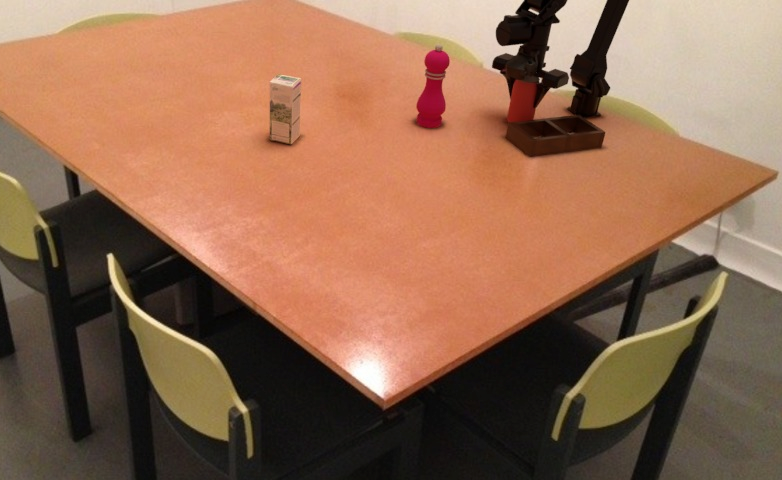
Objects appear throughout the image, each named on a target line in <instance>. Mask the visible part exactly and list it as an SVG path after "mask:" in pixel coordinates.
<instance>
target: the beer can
mask: <svg viewBox="0 0 782 480" xmlns="http://www.w3.org/2000/svg"><path fill="white" fill-rule="evenodd" d="M540 82H541V78H539V77H536V76H532V77H529V76H525V78H524V79H523V80H517V79H516V80H515V82H514V84H513V89H512V94H511V100H510V99H509V100H510V101H509V106H508V111H507V116H506V121H507V123H508V122H517V121H526V120H535V114H536V111H537V107H536V108H533V106H534V100H535V96H536V92H537V87H536V84H538V83H540Z"/></svg>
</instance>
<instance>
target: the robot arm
mask: <svg viewBox="0 0 782 480" xmlns="http://www.w3.org/2000/svg"><path fill="white" fill-rule="evenodd" d="M567 2H568V0H523V1H522V3H521V4H520V5H519V6H518V7H517V9H516V10H515V13H514V15H511V14H504V16H503V20H501V21H500V22H499V23H498V25H497V27H496V28H495V39H496V42H497V44H498V45H499V46H501V47H508V46H518V45H519V47H518V50H517V53H516V54H514V55H513V54H510V53H507V52H505V53H503V54H499V55H496V56H495V57H494V58H493V59H492V63H491V68H492V69H494V70H497V71H499V74H500V75H502V76H503V77H504V78H505V80H506V83H507V88H508V94H509V100H511V94H512V89H513V84H514V82H515V80H516V79H517V80H523V79H524V78H525V76H529V77H532V76H536V77H539V79H540V81H539V82H540V83H538V84H536V87H537V92H536V96H535V100H534V106H533V108H536V109H537V108H538V106H539V105H540V103H541V102H542V100H543V99H544V98H545V96H546V95H547V93H548V92H549V91H550V90H551V89H554V90H555V89H559V88H562V87H564V86H566V85H568V84H569V80H570V78H571V86H572V87H574V88H576V89H575V92H574V95H573V96H572V99H571V104H570V106H567V107H566V109H567V111H569V112H570V113H572V114H573V115H580V116H582V117H583V118H585V119H586V118H596V117H597V118H598V117H601V116H602V115H601V113H600V112H599V107H600V103H601V101H602V98H603V97H604V96H605V97H606V96H608V94H609V92H610V90H611V86H610V85H609V83H608V81H607V80H606V74H607V71H608V59H607V55H608V52H609V51H610V47H611V45H612V43H613V40H614V38H615V36H616V33H617V30H618V28H619V26H620V24H621V21H622V19H623V16H624V14H625V12H626V9H627V7H628V4H629V2H630V0H606V2H605V4H604V7H603V9H602V12H601V14H600V17H599V19H598V22H597V24H596V26H595V29H594V32H593V34H592V36H591V39H590V42H589V44H588V46H587V48H586V50H584V51H583V52H582V53H581V54H579V53H576V55H575V56H574V57H573V62H572V65H571V66H570V67H569V69H570V71H569V74H568V72H567V71H565V70H564V71H563V70H561V69H557V68H554V69H551V70H549V71H548V70H544V68H546V65H547V62H545V59H546V54H547V52H549V51H550V45H548V44H549V40H550V39H549V38H550V34H551V29H552V25H555V24H560V23H561V20H560V19H559V18H558V16H557V15H556V14H557V13H558V12H559V11H560V10H562V8H564V7H565V6H566V5H567ZM535 12H536V13H535ZM537 13H538V14H537Z"/></svg>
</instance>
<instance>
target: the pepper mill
mask: <svg viewBox="0 0 782 480" xmlns="http://www.w3.org/2000/svg"><path fill="white" fill-rule="evenodd" d="M450 60H451V59H450V56H449V54H448V53H447V52H446V51H444V50H443V45H442V44H441V43H437V44H435V47H434V49H432V50H430V51H429V52H427V53H426V55H425V57H424V66H425V68H426V69H425V70H424V72H425V73H424V76H425V77H426V80H425V81H426V82H425V86H424V88H423V90H422V92H421V94H420V95H419V97H418V98H417V101H416V110H417V112H418V113H417V115H416V124H418V125H419V126H420V127H422V128H427V129H435V128H439V127H440V126H441V125H442V122H443V117H442V115H443V114H444V113H445V112H446V108H447V107H446V106H447V105H446V99H445V98H446V97H445V96H444V92H443V81H444V79H445V78H446V76H447V75H446V74H447V71H446V70H447V69H448V68H449V66H450V63H451V61H450Z"/></svg>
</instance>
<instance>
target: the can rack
mask: <svg viewBox="0 0 782 480" xmlns="http://www.w3.org/2000/svg"><path fill="white" fill-rule="evenodd" d="M606 133H607V132H606V131H605V130H603V129H601V128H600V127H598V126H597V125H596V124H594V123H593V122H591V121H590V120H588V119H586V118H583V117H582V116H580V115H575V114H572V115H563V116H554V117H553V116H552V117H546V118H545V117H544V118H537V119H535V118H534V120H526V121H517V122H508V121H507V128H506V131H505V139H507V140H508V141H509V142H510V143H511V144H513V145H514V146H515V147H517V148H518V149H519V150H520V151H522V152H523V153H524V154H525V155H527V156H528V157H536V156H544V155H552V154H559V153H560V154H561V153H567V152H576V151H583V150H590V149H599V148H602V147H603V144H604V141H605V136H606ZM540 136H542V137H540ZM535 137H536V138H535Z"/></svg>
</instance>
